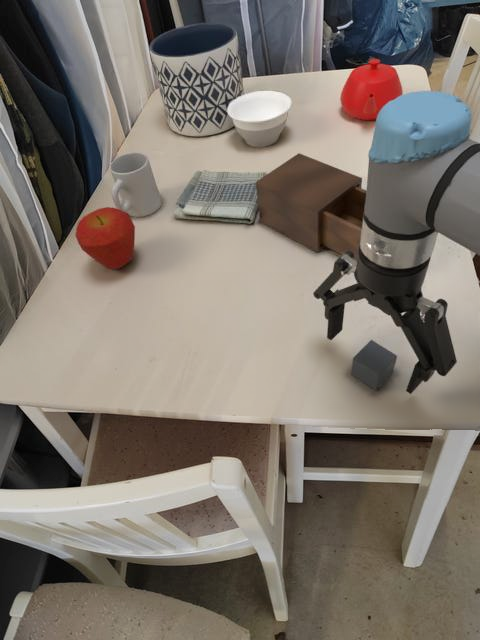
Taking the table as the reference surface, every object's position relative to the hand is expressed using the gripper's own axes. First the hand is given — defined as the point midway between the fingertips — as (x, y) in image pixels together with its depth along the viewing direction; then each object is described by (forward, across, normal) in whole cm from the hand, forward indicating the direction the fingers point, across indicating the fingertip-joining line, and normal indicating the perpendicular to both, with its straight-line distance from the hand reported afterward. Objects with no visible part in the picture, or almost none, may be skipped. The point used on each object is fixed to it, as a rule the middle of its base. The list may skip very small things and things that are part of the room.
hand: (372, 358), depth 64 cm
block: (+4, 0, 0) cm, 4 cm away
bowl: (+5, -62, +41) cm, 75 cm away
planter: (+5, -84, +40) cm, 93 cm away
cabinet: (+4, -31, +22) cm, 38 cm away
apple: (+4, -52, -11) cm, 54 cm away
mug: (+5, -64, +2) cm, 64 cm away
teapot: (+5, -48, +66) cm, 82 cm away
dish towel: (+4, -51, +16) cm, 54 cm away
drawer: (+3, -16, +22) cm, 27 cm away
